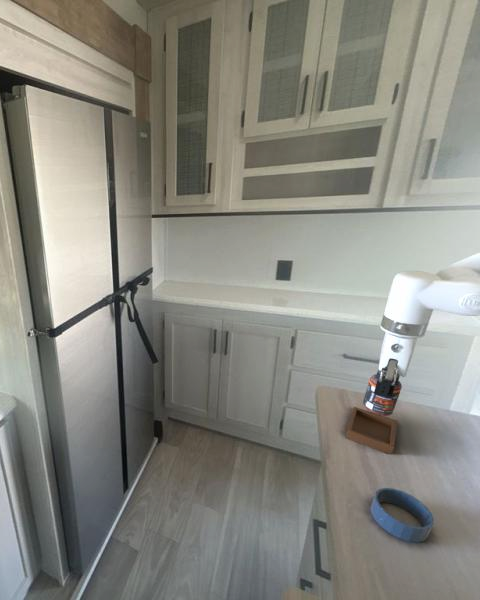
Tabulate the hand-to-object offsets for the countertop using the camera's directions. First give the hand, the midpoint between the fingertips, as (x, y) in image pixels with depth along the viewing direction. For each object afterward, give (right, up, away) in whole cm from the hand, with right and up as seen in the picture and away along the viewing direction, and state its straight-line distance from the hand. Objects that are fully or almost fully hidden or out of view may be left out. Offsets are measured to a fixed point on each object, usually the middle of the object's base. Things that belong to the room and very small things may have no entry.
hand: (383, 388), depth 82 cm
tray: (+1, -13, +5) cm, 14 cm away
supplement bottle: (+1, -6, +3) cm, 7 cm away
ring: (-12, -23, -16) cm, 31 cm away
